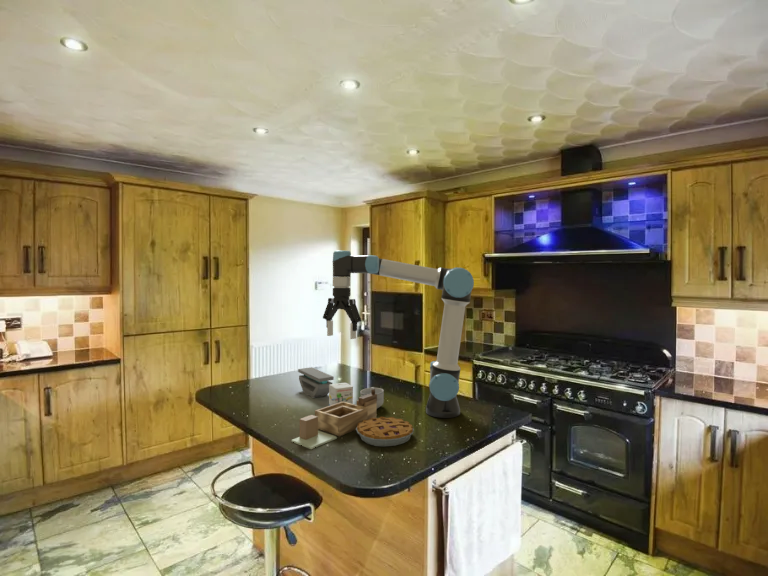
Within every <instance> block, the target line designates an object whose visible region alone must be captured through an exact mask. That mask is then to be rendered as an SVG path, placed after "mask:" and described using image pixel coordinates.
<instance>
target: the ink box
mask: <svg viewBox="0 0 768 576" xmlns="http://www.w3.org/2000/svg"><path fill="white" fill-rule="evenodd" d="M353 400H354V386H353V385H351V384H350V383H348V382H339V383H332V384H329V393H328V406H330V405H333V404H336V403H339V402H342V401H344V402H347V403H351V404H354V401H353Z"/></svg>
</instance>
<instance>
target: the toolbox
mask: <svg viewBox="0 0 768 576" xmlns="http://www.w3.org/2000/svg"><path fill="white" fill-rule="evenodd" d="M377 409H378V408H377V399H373V400H370V401H368V402H365V403H364V406H361V405H359V399H357V400H356V404H354V403H353V404H351V403H347V402H344V401H342V402H339V403H336V404H333V405H330V406H329V405H327V406H324V407H322V408H318V409H315V410H314V416H317V417H318V431H321V432H324V433H327V434H330V435H333V436H336V437H337V436H338V437H342V436H344V435H347V434H349V433H351V432H354V431H357V430H356V428H357V426H358V423H362V421H363V420H370V418H377V413H378V412H377Z"/></svg>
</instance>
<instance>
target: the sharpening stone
mask: <svg viewBox="0 0 768 576" xmlns="http://www.w3.org/2000/svg"><path fill="white" fill-rule="evenodd" d="M297 372H298V373H299V374H301V375H298V381H299V383H300V387H301V389H302V392H303V393H304V394H305V395H308V396H309V397H311V398H312V399H313V398H319V397H324V396H329V384H333V382H332V381H334V380H335V379H334V376H333V375H331V374H328V373H326V372H324V371H321V370H318V369H317V368H315V367H312V366H311V367H303V368H298V369H297Z"/></svg>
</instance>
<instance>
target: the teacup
mask: <svg viewBox="0 0 768 576" xmlns="http://www.w3.org/2000/svg"><path fill="white" fill-rule="evenodd" d="M371 389H375V394H377V409H379V408H380V407H381V406H383V405H384V401H385V400H384V392H385V390H384V389H383V388H380V387H375V386H372V387H366V388H364V389H361V390H360V391H359V393H360V397H362V396H365V395H368V394H371Z"/></svg>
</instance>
